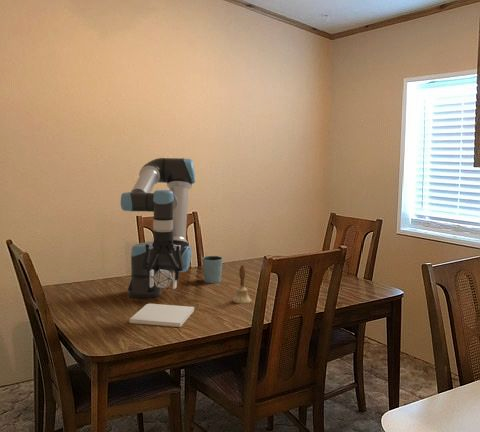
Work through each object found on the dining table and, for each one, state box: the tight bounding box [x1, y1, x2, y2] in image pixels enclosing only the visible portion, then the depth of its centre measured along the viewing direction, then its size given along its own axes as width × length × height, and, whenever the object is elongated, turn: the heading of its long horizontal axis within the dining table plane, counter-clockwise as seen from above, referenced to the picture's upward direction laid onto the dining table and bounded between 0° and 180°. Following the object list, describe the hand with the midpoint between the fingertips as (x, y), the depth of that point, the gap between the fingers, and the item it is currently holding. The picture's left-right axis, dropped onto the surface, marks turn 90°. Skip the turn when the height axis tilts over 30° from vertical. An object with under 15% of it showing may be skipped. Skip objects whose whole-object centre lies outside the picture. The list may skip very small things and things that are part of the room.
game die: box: [151, 268, 173, 291], centre depth 198 cm, size 9×8×10 cm
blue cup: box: [201, 255, 224, 284], centre depth 254 cm, size 10×10×12 cm
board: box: [128, 303, 195, 328], centre depth 200 cm, size 20×20×2 cm
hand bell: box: [232, 264, 252, 305], centre depth 222 cm, size 8×8×16 cm
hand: (163, 287), depth 199 cm, fingers closed on game die, 9 cm apart
